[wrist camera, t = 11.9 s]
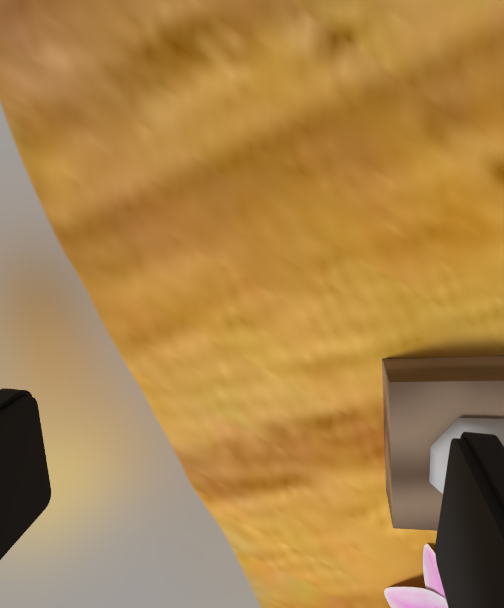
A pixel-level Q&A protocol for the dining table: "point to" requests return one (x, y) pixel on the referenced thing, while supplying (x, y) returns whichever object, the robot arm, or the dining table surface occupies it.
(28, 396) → the robot arm
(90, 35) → the dining table surface
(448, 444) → the flask
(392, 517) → the walnut block
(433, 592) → the lily
